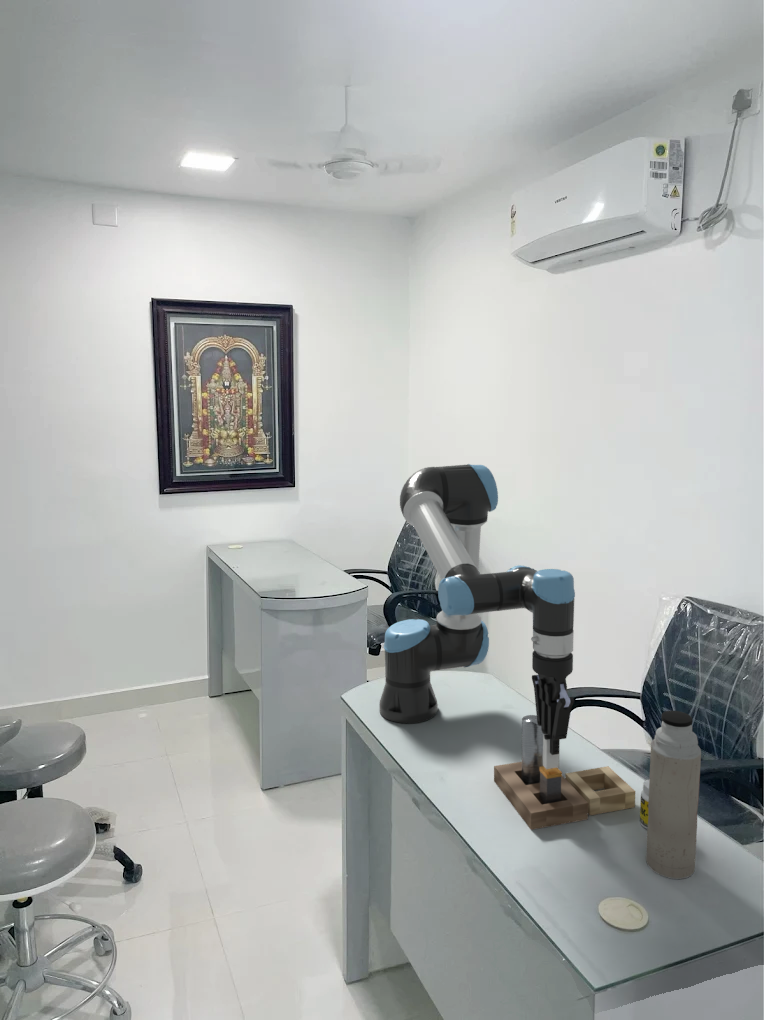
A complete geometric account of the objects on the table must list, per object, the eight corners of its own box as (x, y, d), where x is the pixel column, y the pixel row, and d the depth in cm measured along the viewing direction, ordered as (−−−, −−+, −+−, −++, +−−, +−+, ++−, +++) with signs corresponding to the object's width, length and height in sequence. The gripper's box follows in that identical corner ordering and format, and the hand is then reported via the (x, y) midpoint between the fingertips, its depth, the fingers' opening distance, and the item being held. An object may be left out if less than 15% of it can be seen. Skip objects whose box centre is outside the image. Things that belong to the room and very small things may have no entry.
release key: (539, 798, 146) (539, 766, 145) (553, 795, 147) (554, 764, 146) (546, 807, 143) (546, 775, 142) (561, 804, 144) (562, 772, 143)
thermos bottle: (689, 852, 132) (697, 707, 127) (699, 881, 125) (707, 728, 120) (643, 847, 134) (649, 704, 129) (649, 876, 126) (656, 724, 121)
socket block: (494, 781, 157) (494, 766, 157) (545, 772, 160) (545, 757, 160) (530, 829, 140) (531, 813, 140) (587, 819, 143) (588, 802, 142)
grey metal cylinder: (517, 787, 155) (518, 716, 152) (537, 784, 156) (538, 713, 153) (527, 799, 150) (527, 726, 148) (546, 795, 151) (547, 723, 149)
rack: (565, 788, 154) (565, 773, 153) (607, 781, 156) (608, 766, 155) (589, 815, 144) (590, 799, 144) (634, 807, 147) (635, 791, 146)
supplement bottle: (634, 821, 142) (635, 781, 141) (653, 814, 144) (654, 775, 142) (652, 834, 138) (654, 793, 136) (671, 828, 140) (673, 787, 138)
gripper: (519, 642, 145) (519, 753, 149) (550, 666, 132) (548, 786, 136) (554, 638, 147) (552, 747, 151) (588, 661, 134) (585, 780, 138)
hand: (551, 766), depth 143 cm, fingers closed
